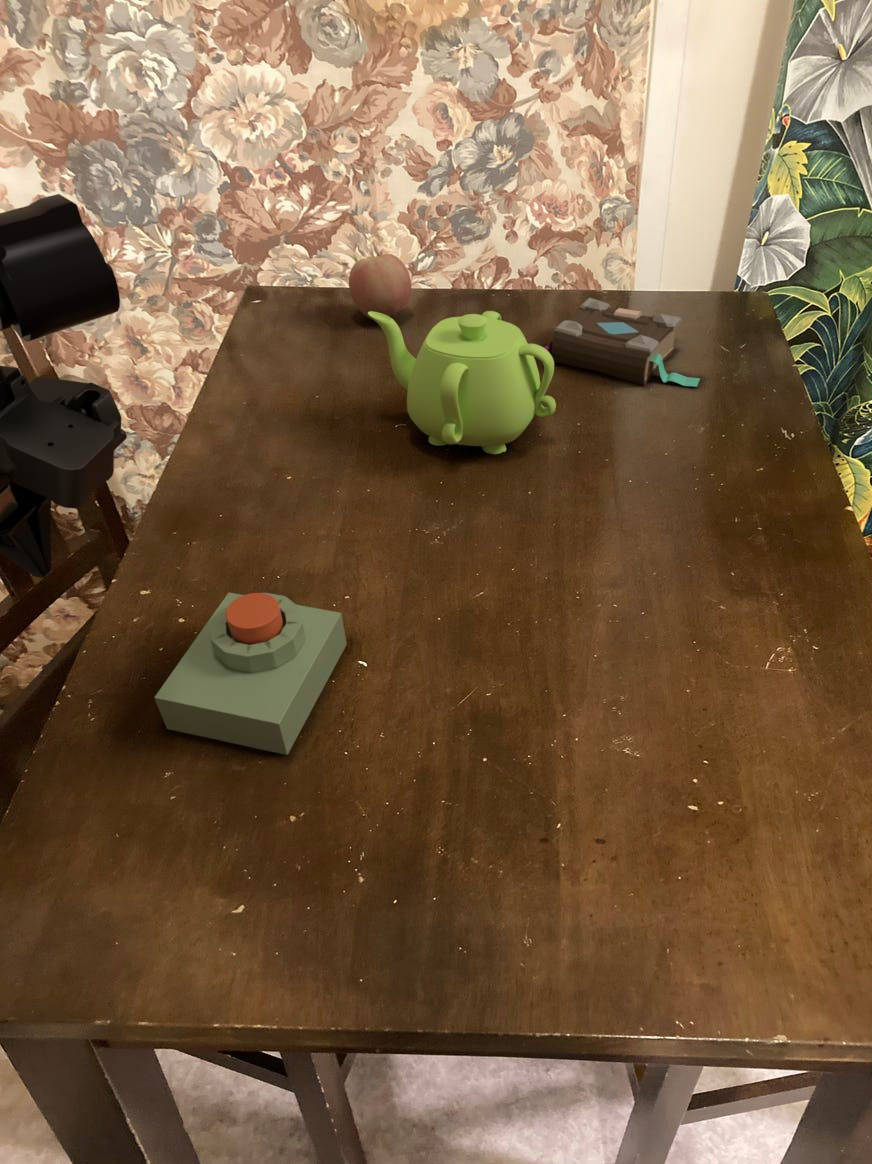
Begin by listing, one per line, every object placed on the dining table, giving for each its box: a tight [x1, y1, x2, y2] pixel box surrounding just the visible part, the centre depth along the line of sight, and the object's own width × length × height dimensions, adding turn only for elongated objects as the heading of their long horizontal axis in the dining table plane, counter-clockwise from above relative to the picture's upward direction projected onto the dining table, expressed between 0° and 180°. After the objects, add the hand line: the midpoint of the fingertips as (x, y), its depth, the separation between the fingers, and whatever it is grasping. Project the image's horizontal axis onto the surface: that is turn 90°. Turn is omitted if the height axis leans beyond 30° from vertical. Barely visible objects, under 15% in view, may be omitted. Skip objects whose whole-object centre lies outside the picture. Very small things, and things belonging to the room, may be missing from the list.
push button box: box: [153, 592, 347, 756], centre depth 69 cm, size 12×10×6 cm
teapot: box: [368, 310, 557, 455], centre depth 93 cm, size 16×14×13 cm
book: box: [543, 297, 701, 388], centre depth 107 cm, size 20×12×5 cm, turn 60°
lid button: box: [226, 592, 283, 645], centre depth 68 cm, size 4×4×2 cm
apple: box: [348, 253, 412, 321], centre depth 115 cm, size 8×8×8 cm
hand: (42, 573), depth 62 cm, fingers closed
